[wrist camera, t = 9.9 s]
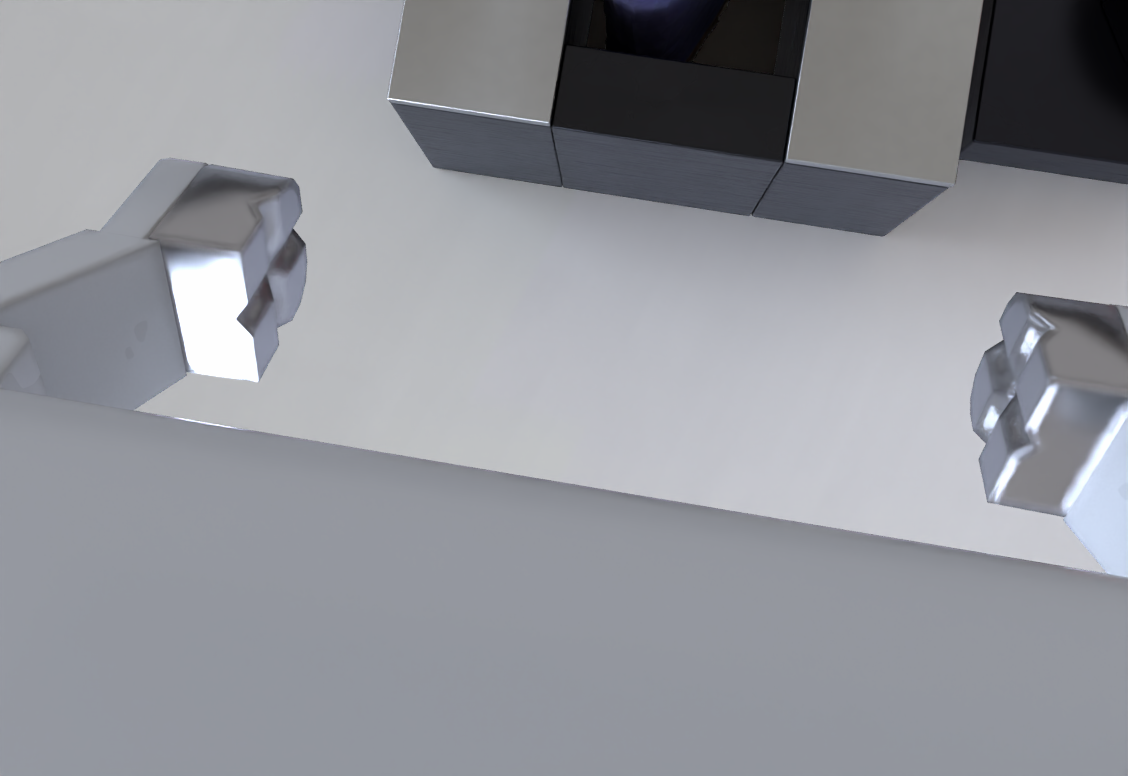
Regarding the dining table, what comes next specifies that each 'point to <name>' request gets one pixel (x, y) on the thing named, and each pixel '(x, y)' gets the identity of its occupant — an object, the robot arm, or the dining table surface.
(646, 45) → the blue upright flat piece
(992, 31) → the control block
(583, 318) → the dining table surface
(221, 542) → the robot arm
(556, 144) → the glossy black box
